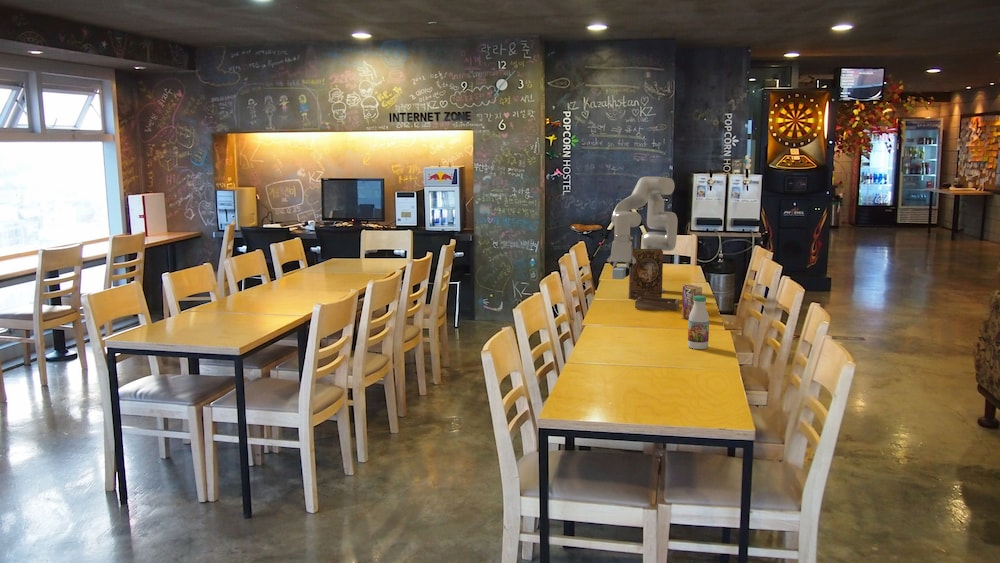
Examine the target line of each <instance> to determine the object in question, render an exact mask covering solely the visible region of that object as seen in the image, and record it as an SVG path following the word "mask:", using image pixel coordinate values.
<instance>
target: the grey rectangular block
mask: <svg viewBox="0 0 1000 563" xmlns="http://www.w3.org/2000/svg"><path fill="white" fill-rule="evenodd" d="M626 267H627V266H626V264H619V265H618V266H617V267H616V268H614V269H613V268H612V273H611V274H612V275H611V276H612V277H611V278H612V279H613V280H624V279H625V278H627V277H626ZM629 275H630V274H629ZM629 275H628V276H629Z"/></svg>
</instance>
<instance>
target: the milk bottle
mask: <svg viewBox="0 0 1000 563" xmlns="http://www.w3.org/2000/svg"><path fill="white" fill-rule="evenodd" d="M693 302H694V306H693V308H692V310H691V312H690V315H689V320H688V322H687V323H688V324H687V325H688V327H687V328H688V329H687V347H688V348H689V347H690V348H689V349H692V348H693V349H692V350H706V348H707V349H708V348H709V339H710V338H709V337H710V336H709V334H710V315H709V312H708V310H707V306H706V303H707V297H706V296H705V295H702V296H694V301H693Z"/></svg>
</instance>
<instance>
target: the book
mask: <svg viewBox="0 0 1000 563" xmlns="http://www.w3.org/2000/svg"><path fill="white" fill-rule="evenodd" d="M633 257H634V258H635V259H636V261H637V262H636V263H635V264H633V265H632V266H631V267H630V275H628V299H630V300H637V298H638V297H653V298H663V292H662V288H663V269H664V265H663V264H664V261H663V260H664V251H662V250H661V249H644V248H633ZM632 262H633V260H632V261H630V263H632Z"/></svg>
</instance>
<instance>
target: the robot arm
mask: <svg viewBox="0 0 1000 563" xmlns="http://www.w3.org/2000/svg"><path fill="white" fill-rule="evenodd" d="M674 190H675V182H674V179H673V178H671V177H662V176H642V177H640V178H639V179H638V180H637V183H636V185H635V187H634V189H633V190H632V193H631V195H629V196H627V197H626V198H623V199H622V200H621V201H620V202H618V203H617V205H616V206H615V208H614V210H613V212H612V215H611V223H612V224H613V226H614V230H613V231H614V233H613V234H614V237H613V238H614V239H613V241H612V243H611V244H612V245H611V251H610V255H609V256H608V258H607V259H606V262H607V263H609V264H610V265H611V267H612V270H613V269H614V268H616V267H618V266H617V265H618V263H625V265H626V266H627V267H626V277H625V278H627V277H629V274H630V267H631V266H632V265H633V264H635V263H636V262H637V261H636V259H635V258H634V257H633V249H634V247H633V243H632V241H631V240H634V236H631V228H636V227H638V226H640V224H641V221H642V215H641V214H640V213H639V212H637V211H632V210H635V209H640V208H642V207H644V206H646V204H647V213H646V226H647V227H648V228H649V229H651V230H663V231H666V232H662V231H647V232H645V233H644V234H643V236H642V249H661V250H662V251H663V252H671V251H673V250H674V249H675V248H676V246H677V238H678V237H677V236H678V235H677V234H678V225H679V224H678V222H679V220H678V217H677V214H676V213H675V212H672V211H665V200H664V198H663V197H662V195H663V196H665V195H666V196H667V195H669V196H670V195H672V194H673V192H674ZM632 260H633V262H632V263H630V261H632ZM664 291H665V289H664V288H663V287H662V293H663V292H664Z"/></svg>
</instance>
